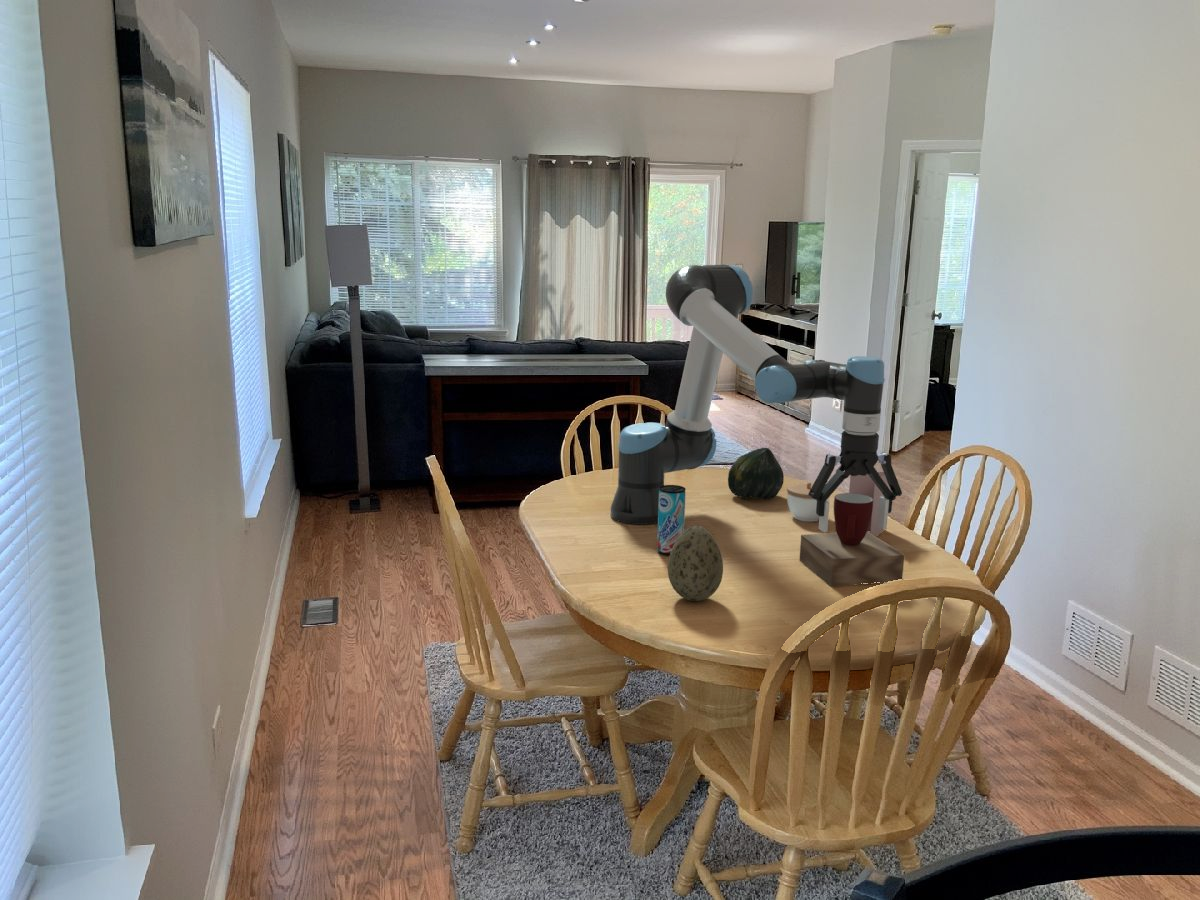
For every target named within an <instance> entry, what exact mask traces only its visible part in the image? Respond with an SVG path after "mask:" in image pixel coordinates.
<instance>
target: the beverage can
mask: <svg viewBox="0 0 1200 900" xmlns="http://www.w3.org/2000/svg"><path fill="white" fill-rule="evenodd" d="M685 511H686V487H684V486H682V485H677V484H664V486H661V487H659V505H658V523H657V536H656V537H657V538H656V540H657V541H656V545H657V546H656V549H657V552H658V553H659V554H660V555H665V556H670V553H671V550H672V548H673V546H674V544H675V542H676V540H677V539H678V538H679V536H680V535H681V534H682V533H683V532H684V531H685V517H686V516H685Z"/></svg>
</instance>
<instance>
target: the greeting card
mask: <svg viewBox="0 0 1200 900" xmlns="http://www.w3.org/2000/svg"><path fill="white" fill-rule="evenodd" d="M877 472H878V474H879V476H880V477H881V478H882V480H883V481H884V482H885V484H886V485H887V486H888V488H890V487H889V484H888V482H887V479H886V477H885V474H884V472H883V471H877ZM848 493H855V494H862V495H866V496H869V497H871V498H872V499H873V510H872V515H871V519H870V523H869V526H868V530H867V531H870V533H871V534H873V535H874V536H877V535H878V536H879V535H881V532H882V531H883V530H884V529H882V528H880V527H879V526H877V522H878V510H879V499H880V497H884V495H883V494H882V492H881V491H880V490H879V488H878V487H877V486H876V484H875V483H874V482H873V480H872V479H871V478H870V476H869V475H868V474H866V476H862V475H857V476H851V475H849V491H848ZM884 531H885V530H884ZM884 531H883V532H884ZM883 532H882V533H883ZM878 536H877V537H878Z"/></svg>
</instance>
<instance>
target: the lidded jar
mask: <svg viewBox="0 0 1200 900" xmlns="http://www.w3.org/2000/svg"><path fill="white" fill-rule="evenodd" d="M813 484H814V483H813ZM813 484H812V482H808V481H807V483H796V484H795V483H793V484H791V485H789V486H787V489H786V491H787V494H786V495H787V496H786V500H787V507H788V510H789V512H790V513H791V515H793V517H794V518H795V519H796V521H797V520H798V521H802V522H805V523H806V522H807V523H808V522H811V523H813V522H817V521H818V522H819V516H818V515H817V514H816V506H817V500H815V499H813V498H812V497H810V496H809V491H810V490H811V488H812V486H813ZM826 501H828V502H829V503H830V497H829V498H828V499H827V500H826Z"/></svg>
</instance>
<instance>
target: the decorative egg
mask: <svg viewBox="0 0 1200 900" xmlns="http://www.w3.org/2000/svg"><path fill="white" fill-rule="evenodd" d="M723 561H724V560H723V556H722V552H721V550H720V548H719V545H718V543H717V541H716V539H715V538H714V537H713V535H712V534H711V532H709V531H708V530H707V529H706V528H704V527H703V526H700V525H693V526H689V528H687V529H684V532H683V533H682V534H681V535H680V536H679V538H678V539H677V540H676V542H675V544H674V546H673V548H672V550H671V553H670V555H668V560H667V575H668V581H669V583H670V585H671V588H672V589H673V590H674V591H675V592H676V594H677V595H679V596H680V597H681V598H683V599H684V600H686V601H687V600H688V601H691V602H700V601H704V600H706V599H708V598H710V597H711V596H712V595H713V594H715V592H717V590H718V588H719V587H720V584H721V583H722V579H723V575H724V562H723Z"/></svg>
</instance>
